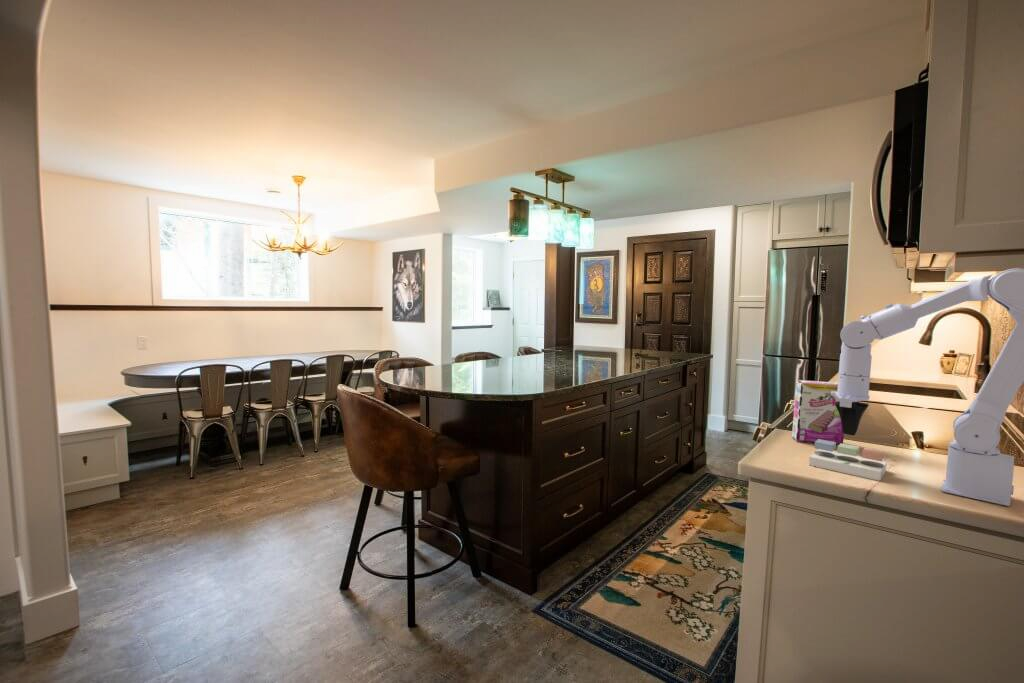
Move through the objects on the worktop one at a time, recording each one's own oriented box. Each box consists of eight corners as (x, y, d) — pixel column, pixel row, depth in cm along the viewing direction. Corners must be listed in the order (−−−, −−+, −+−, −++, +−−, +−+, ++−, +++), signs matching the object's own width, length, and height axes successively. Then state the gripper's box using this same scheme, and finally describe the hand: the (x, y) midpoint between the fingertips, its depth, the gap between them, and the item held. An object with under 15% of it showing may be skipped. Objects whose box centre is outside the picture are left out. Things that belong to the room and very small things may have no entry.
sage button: (859, 453, 107) (859, 446, 107) (856, 456, 104) (856, 449, 104) (840, 449, 109) (841, 443, 109) (837, 452, 107) (837, 446, 107)
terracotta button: (884, 457, 104) (884, 451, 103) (881, 461, 101) (882, 454, 101) (864, 454, 106) (865, 447, 106) (861, 457, 104) (862, 450, 103)
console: (886, 470, 106) (886, 461, 105) (879, 480, 99) (880, 470, 99) (818, 456, 115) (819, 447, 115) (809, 465, 108) (809, 455, 108)
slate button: (835, 448, 110) (835, 442, 110) (832, 451, 107) (832, 445, 107) (818, 445, 112) (818, 439, 112) (814, 448, 110) (814, 441, 110)
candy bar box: (796, 442, 127) (800, 382, 125) (791, 437, 131) (795, 379, 130) (844, 446, 124) (849, 385, 122) (837, 441, 128) (841, 382, 127)
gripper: (839, 369, 113) (835, 425, 114) (825, 375, 103) (820, 436, 104) (876, 373, 108) (871, 431, 109) (865, 379, 98) (859, 443, 99)
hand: (849, 434), depth 106 cm, fingers closed
